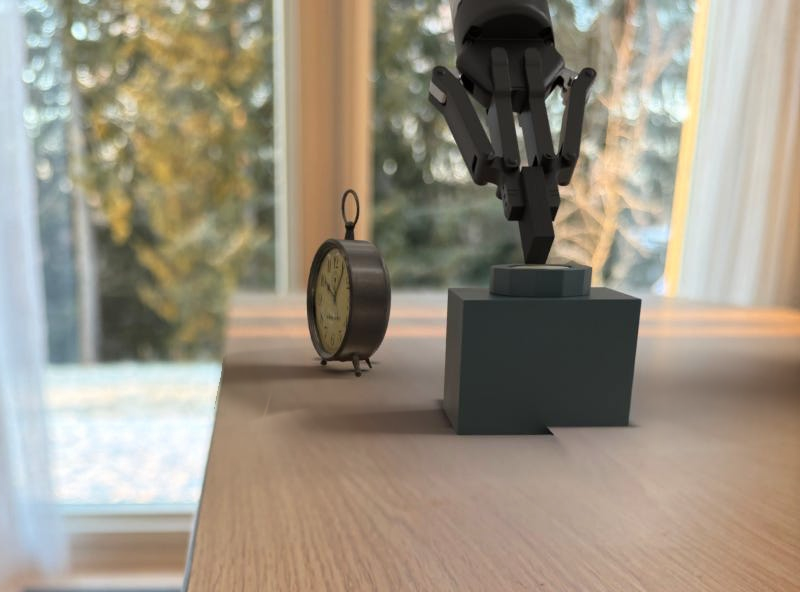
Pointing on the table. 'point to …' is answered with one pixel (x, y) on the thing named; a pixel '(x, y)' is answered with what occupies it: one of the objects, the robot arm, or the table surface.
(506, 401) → the block with cream knob
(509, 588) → the table surface
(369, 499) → the table surface
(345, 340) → the alarm clock
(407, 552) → the table surface
